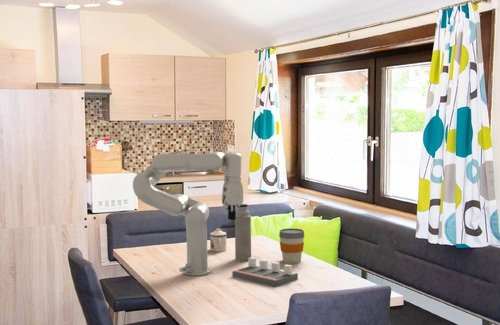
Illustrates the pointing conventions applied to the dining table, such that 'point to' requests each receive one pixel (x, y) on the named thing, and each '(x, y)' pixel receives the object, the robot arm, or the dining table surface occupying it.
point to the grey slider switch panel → (265, 273)
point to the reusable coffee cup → (291, 244)
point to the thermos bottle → (242, 233)
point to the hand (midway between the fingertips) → (231, 219)
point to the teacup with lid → (218, 241)
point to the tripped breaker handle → (275, 267)
